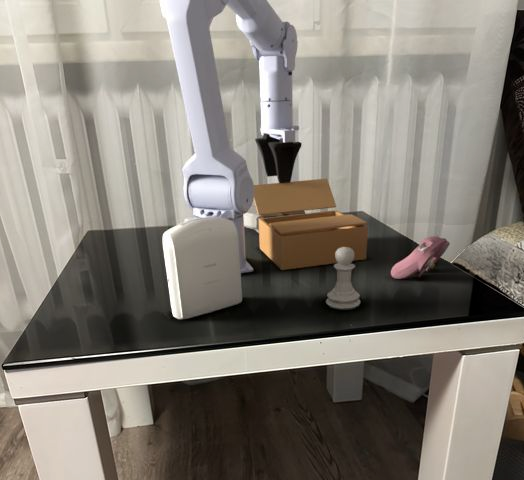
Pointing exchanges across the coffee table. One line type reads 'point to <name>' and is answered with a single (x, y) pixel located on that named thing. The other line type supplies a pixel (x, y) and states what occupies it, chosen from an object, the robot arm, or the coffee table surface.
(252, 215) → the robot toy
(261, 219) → the carton
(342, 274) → the chess piece
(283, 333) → the coffee table surface
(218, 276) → the photo printer
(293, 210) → the flap
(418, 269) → the pink shoe
